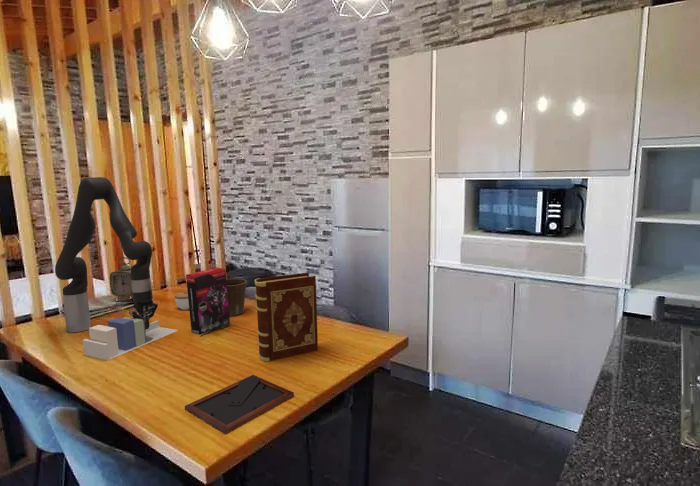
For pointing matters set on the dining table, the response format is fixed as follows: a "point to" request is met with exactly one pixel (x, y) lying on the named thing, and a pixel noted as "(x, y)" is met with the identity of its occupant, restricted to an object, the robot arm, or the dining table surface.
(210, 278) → the graphics card box
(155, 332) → the shelf board
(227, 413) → the picture frame
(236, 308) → the plant pot
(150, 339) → the bookend
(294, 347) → the decorative book
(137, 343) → the sage book
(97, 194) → the robot arm
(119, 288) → the tabletop clock
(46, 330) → the dining table surface
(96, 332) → the ivory book
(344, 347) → the dining table surface
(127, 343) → the navy book
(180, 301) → the lidded jar
